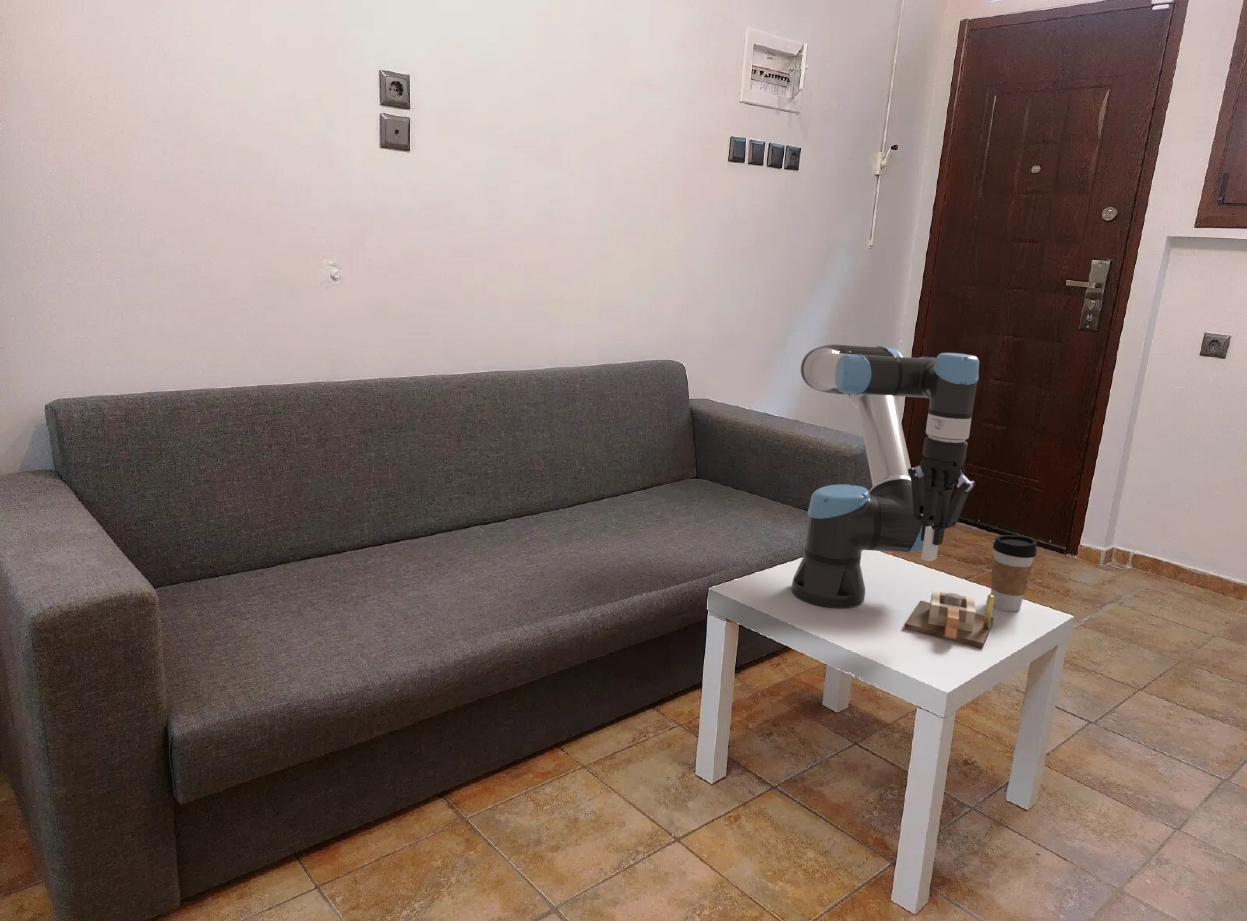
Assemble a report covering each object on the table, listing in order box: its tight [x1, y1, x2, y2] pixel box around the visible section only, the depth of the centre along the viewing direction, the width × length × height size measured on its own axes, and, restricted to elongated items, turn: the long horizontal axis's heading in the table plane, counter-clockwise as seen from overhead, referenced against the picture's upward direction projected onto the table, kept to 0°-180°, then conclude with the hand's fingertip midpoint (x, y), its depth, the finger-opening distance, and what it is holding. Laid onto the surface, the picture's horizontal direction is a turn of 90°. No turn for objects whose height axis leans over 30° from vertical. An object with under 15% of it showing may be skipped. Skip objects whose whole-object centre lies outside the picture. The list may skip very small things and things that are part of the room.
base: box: [903, 592, 995, 650], centre depth 170 cm, size 14×14×6 cm
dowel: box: [983, 594, 995, 630], centre depth 167 cm, size 1×1×7 cm
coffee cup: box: [990, 534, 1038, 612], centre depth 181 cm, size 8×8×15 cm
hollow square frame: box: [929, 590, 977, 639], centre depth 168 cm, size 13×8×4 cm, turn 160°
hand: (928, 559), depth 164 cm, fingers closed
